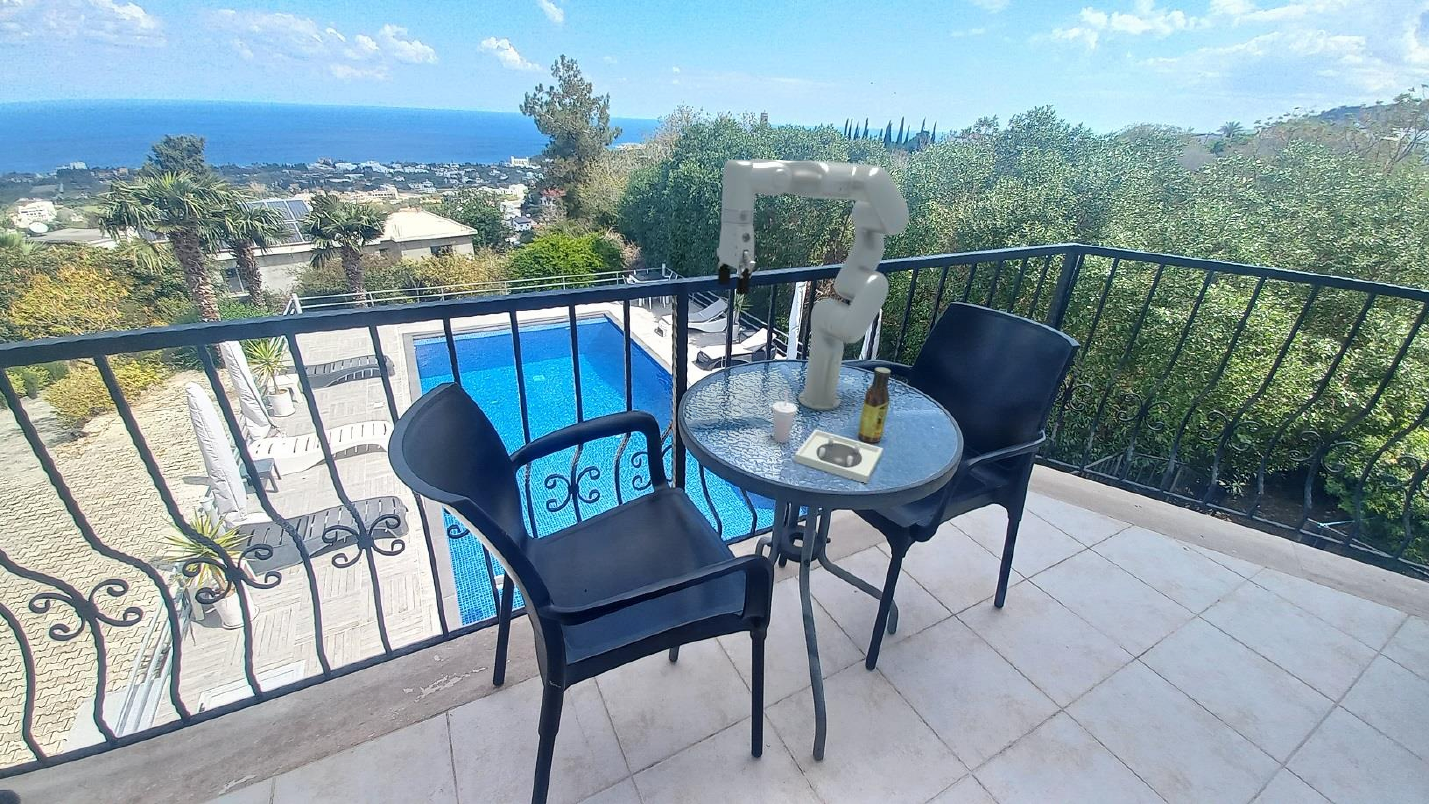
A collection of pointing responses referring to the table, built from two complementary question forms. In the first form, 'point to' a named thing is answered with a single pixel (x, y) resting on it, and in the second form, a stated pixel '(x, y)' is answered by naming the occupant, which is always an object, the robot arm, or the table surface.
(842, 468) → the pin tray
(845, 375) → the table surface
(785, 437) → the smoothie
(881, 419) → the sauce bottle
